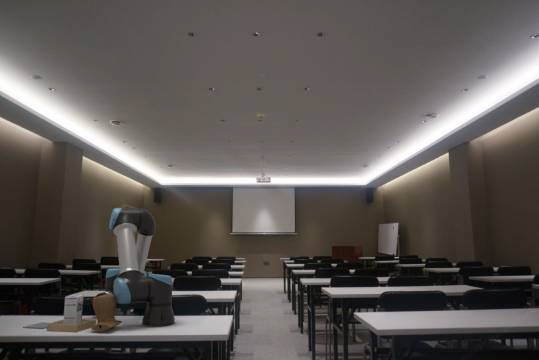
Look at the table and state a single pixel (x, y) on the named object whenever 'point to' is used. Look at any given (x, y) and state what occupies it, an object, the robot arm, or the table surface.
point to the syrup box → (73, 309)
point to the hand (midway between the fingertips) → (84, 305)
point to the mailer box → (71, 325)
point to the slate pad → (38, 325)
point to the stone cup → (105, 312)
